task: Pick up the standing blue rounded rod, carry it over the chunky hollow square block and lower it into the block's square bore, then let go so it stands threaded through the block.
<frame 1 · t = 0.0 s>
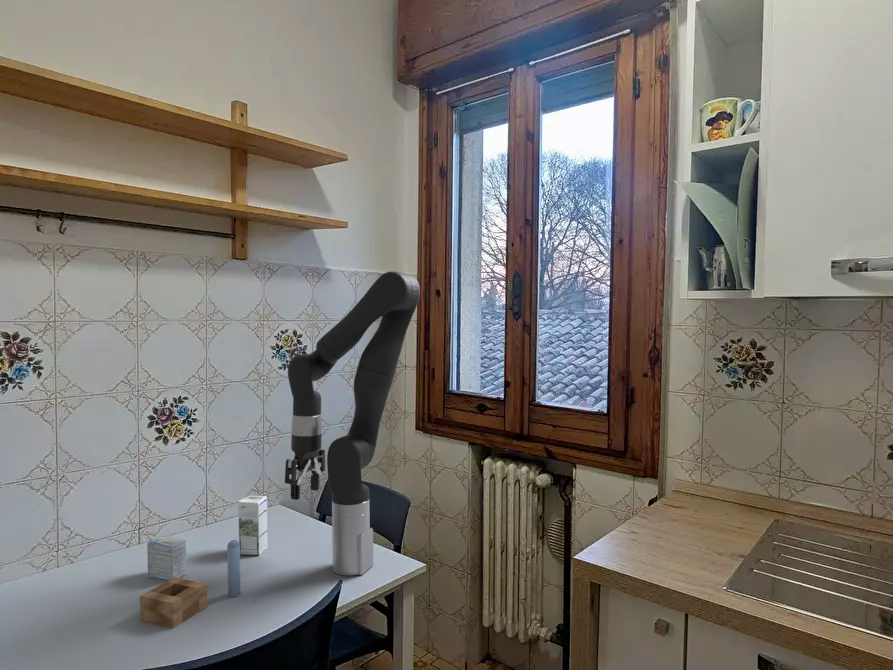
hand: (305, 494, 144), 17 cm above the table, tool pointing down, fingers open, 8 cm apart
hollow square block: (174, 613, 118), on the table
medicine box: (167, 576, 136), on the table
blue rounded rod: (234, 594, 126), on the table
syrup box: (253, 552, 150), on the table
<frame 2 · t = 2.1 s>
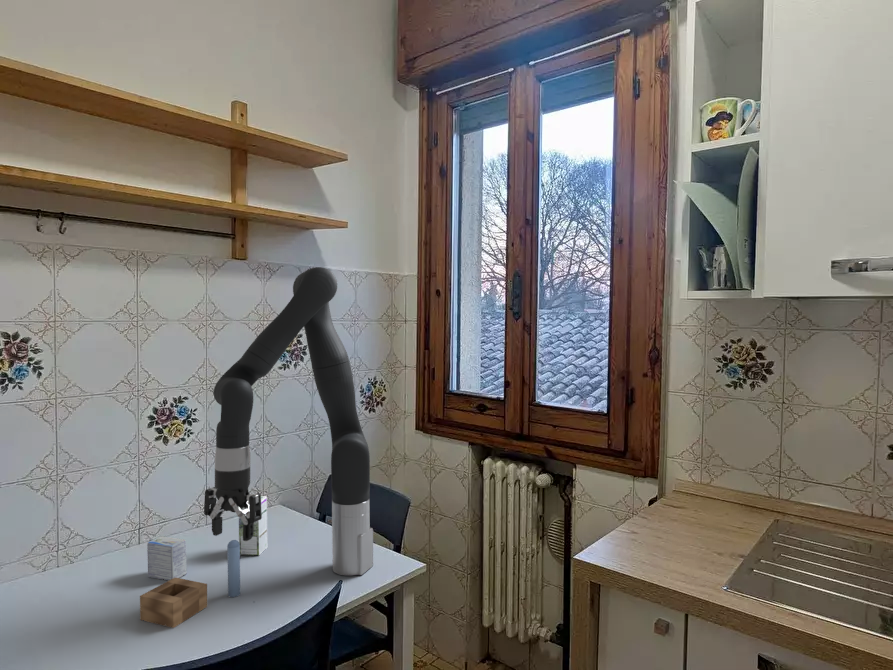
hand: (232, 537, 126), 13 cm above the table, tool pointing down, fingers open, 8 cm apart
nothing on the table moved.
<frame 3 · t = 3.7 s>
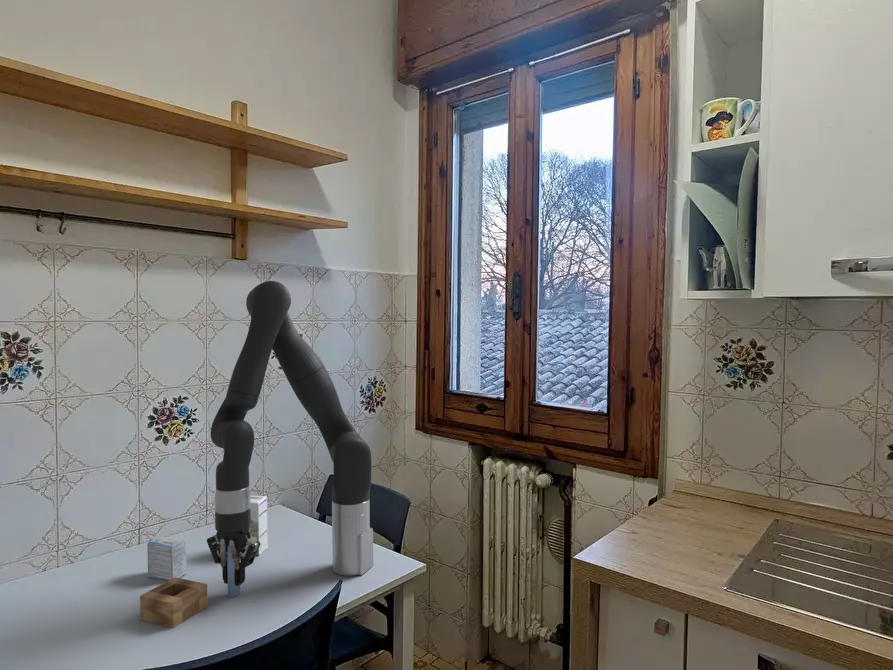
hand: (233, 582, 126), 3 cm above the table, tool pointing down, fingers closed on blue rounded rod, 2 cm apart
blue rounded rod: (233, 594, 126), on the table, touching gripper
everything else where it was.
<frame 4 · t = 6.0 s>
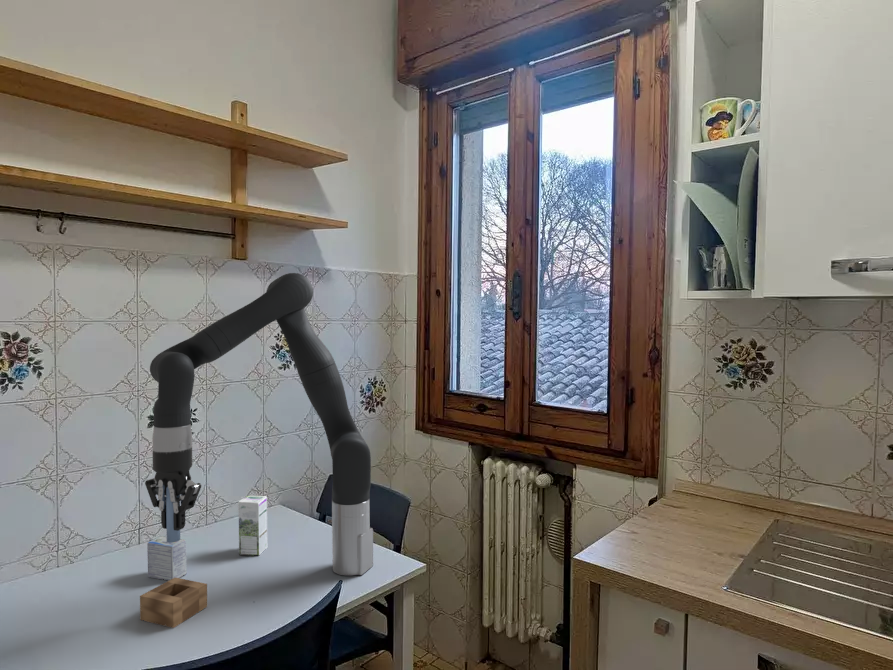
hand: (173, 528, 118), 18 cm above the table, tool pointing down, fingers closed on blue rounded rod, 2 cm apart
blue rounded rod: (173, 540, 118), point 15 cm above the table, touching gripper
everything else where it was.
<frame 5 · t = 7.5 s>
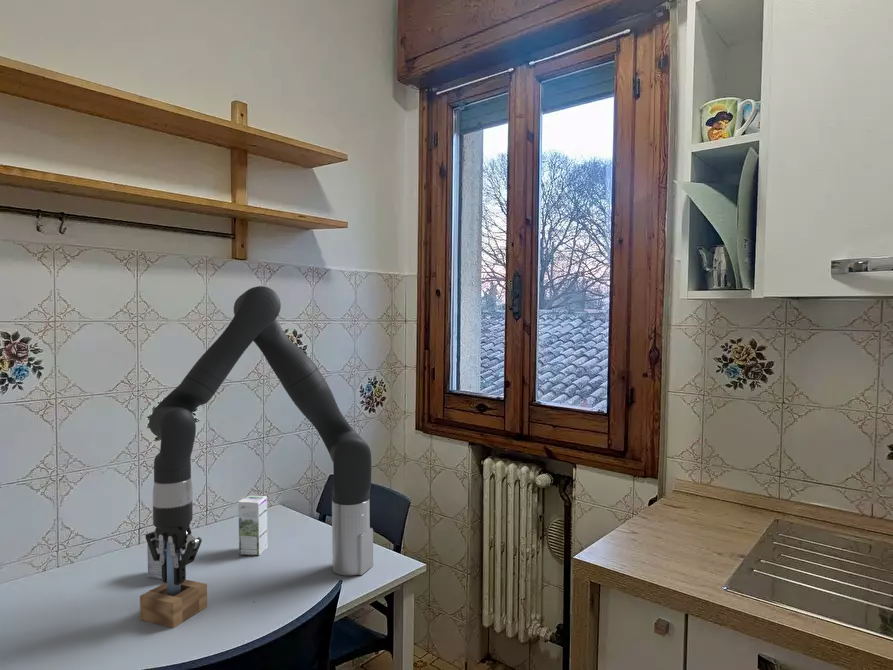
hand: (173, 581, 118), 7 cm above the table, tool pointing down, fingers closed on blue rounded rod, 2 cm apart
blue rounded rod: (173, 594, 118), point 4 cm above the table, touching gripper
everything else where it was.
when the fingers open (6 cm above the table, at t = 8.6 s): blue rounded rod drops 3 cm, resting in hollow square block.
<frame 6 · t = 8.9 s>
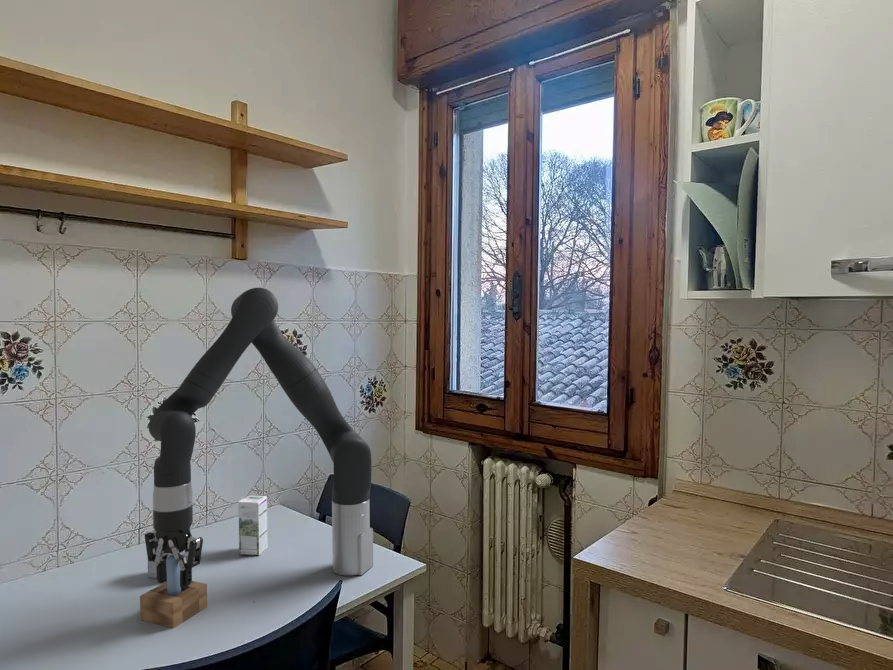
hand: (174, 583, 118), 6 cm above the table, tool pointing down, fingers open, 5 cm apart
blue rounded rod: (175, 613, 118), resting in hollow square block
everything else where it was.
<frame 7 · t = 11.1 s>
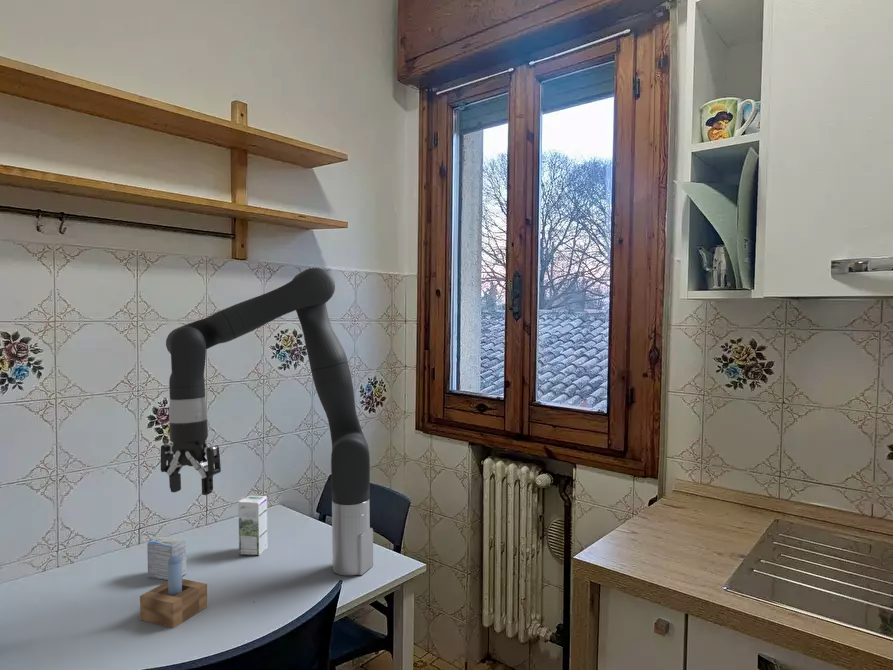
hand: (191, 492, 122), 24 cm above the table, tool pointing down, fingers open, 8 cm apart
nothing on the table moved.
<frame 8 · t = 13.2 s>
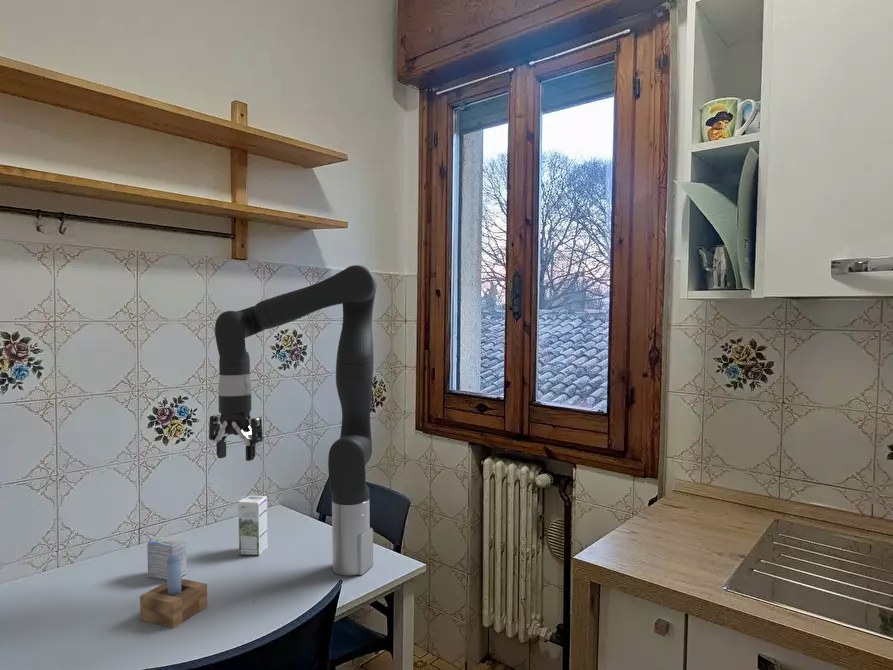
hand: (235, 459, 137), 28 cm above the table, tool pointing down, fingers open, 8 cm apart
nothing on the table moved.
at the end: blue rounded rod 0.2 cm off-centre on the hollow square block, point 0.0 cm above the hollow square block's base; blue rounded rod tilted 2°; the gripper is holding nothing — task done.
